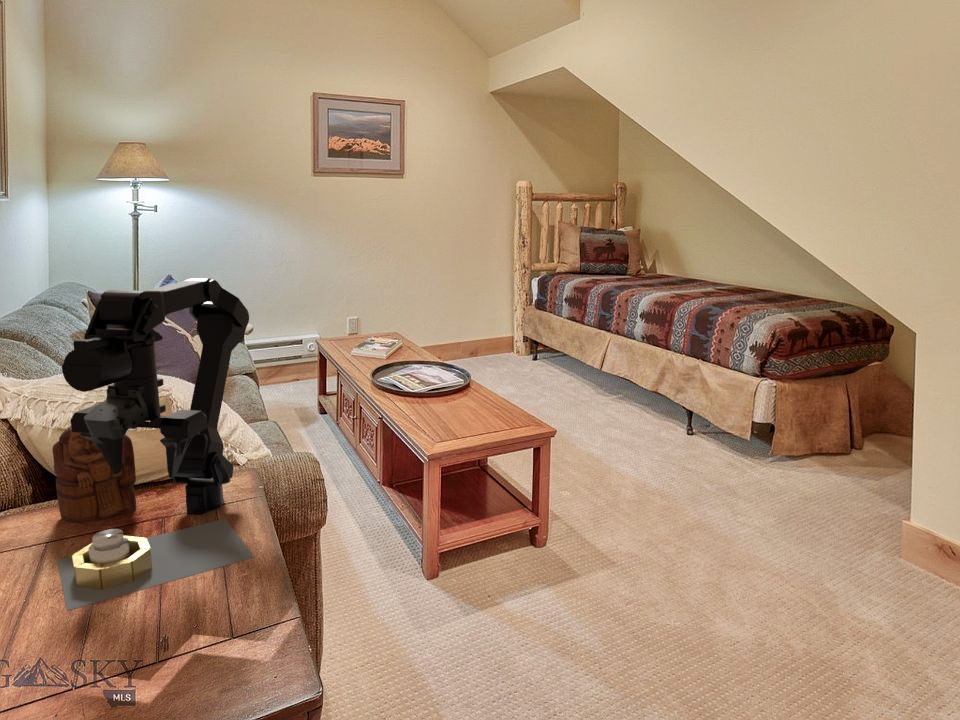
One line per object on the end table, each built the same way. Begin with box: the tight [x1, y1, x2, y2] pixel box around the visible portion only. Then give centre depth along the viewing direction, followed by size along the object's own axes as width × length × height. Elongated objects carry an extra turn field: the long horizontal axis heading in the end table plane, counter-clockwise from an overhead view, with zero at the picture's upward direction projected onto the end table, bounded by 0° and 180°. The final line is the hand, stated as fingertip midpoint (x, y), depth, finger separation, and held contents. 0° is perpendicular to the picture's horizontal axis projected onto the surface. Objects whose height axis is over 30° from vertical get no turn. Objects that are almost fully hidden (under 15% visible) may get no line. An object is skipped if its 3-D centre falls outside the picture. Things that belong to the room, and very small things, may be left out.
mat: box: [56, 518, 256, 612], centre depth 96 cm, size 24×16×2 cm, turn 127°
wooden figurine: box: [51, 425, 137, 524], centre depth 109 cm, size 12×6×18 cm, turn 122°
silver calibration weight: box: [88, 528, 130, 565], centre depth 91 cm, size 5×5×6 cm
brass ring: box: [71, 535, 152, 590], centre depth 91 cm, size 9×9×3 cm
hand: (144, 475), depth 97 cm, fingers open, 9 cm apart
